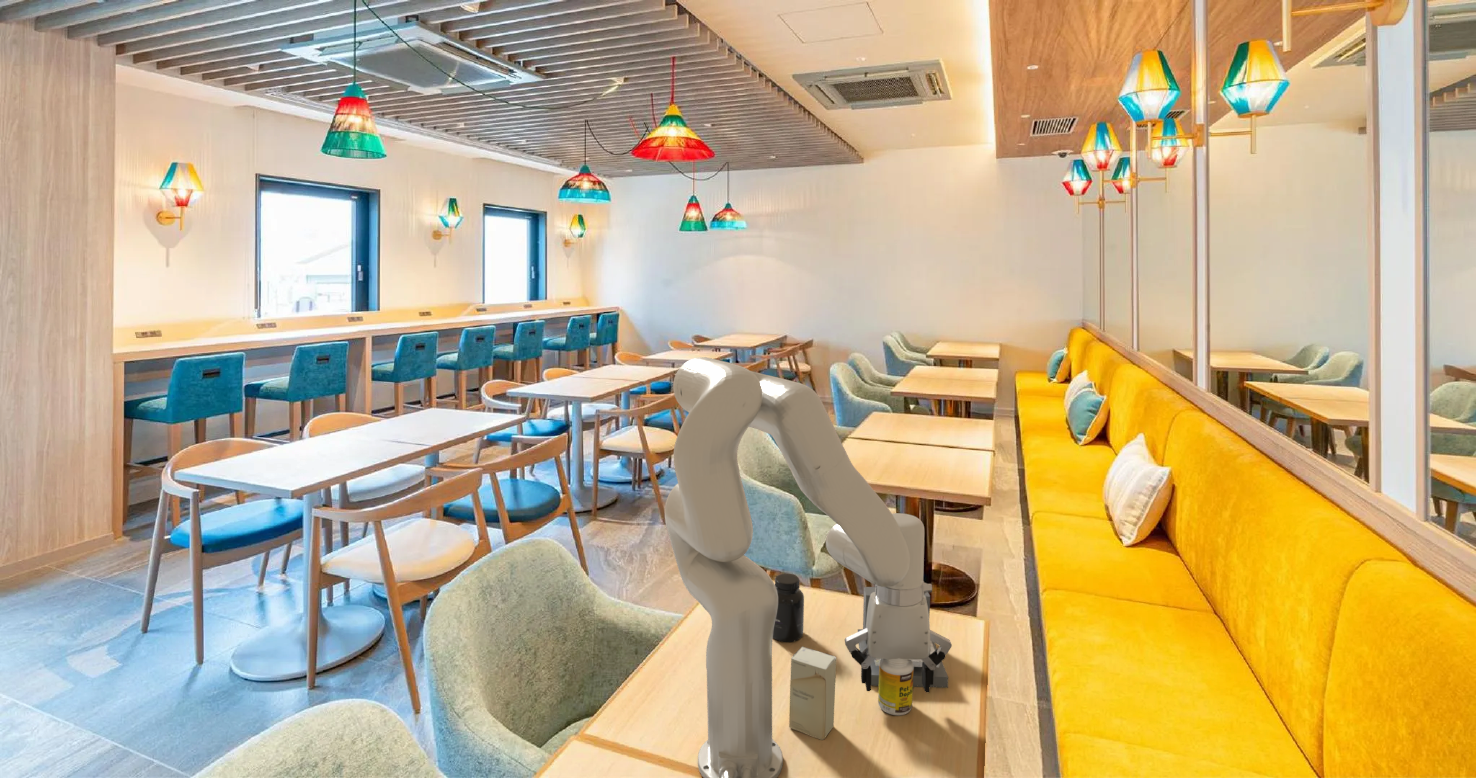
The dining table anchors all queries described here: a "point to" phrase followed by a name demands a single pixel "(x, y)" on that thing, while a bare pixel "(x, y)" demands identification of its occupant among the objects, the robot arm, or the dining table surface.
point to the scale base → (939, 673)
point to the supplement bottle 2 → (895, 685)
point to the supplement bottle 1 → (789, 609)
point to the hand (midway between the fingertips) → (896, 686)
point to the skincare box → (812, 692)
